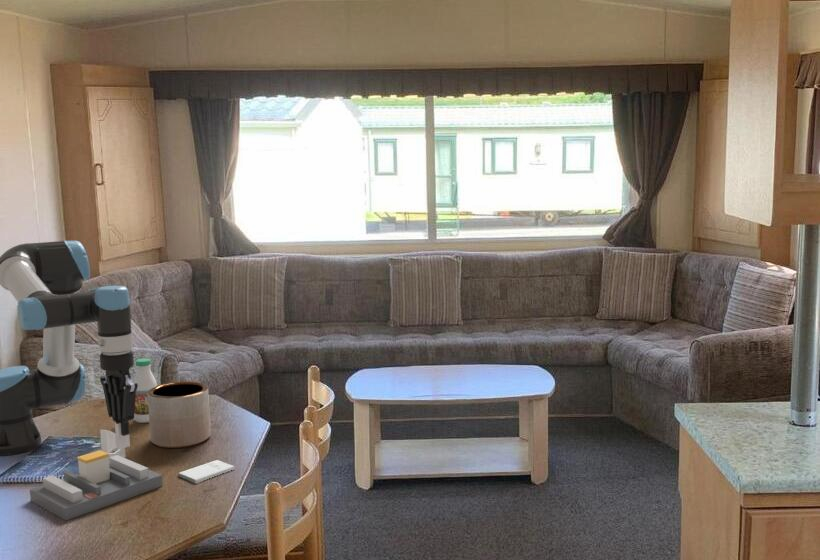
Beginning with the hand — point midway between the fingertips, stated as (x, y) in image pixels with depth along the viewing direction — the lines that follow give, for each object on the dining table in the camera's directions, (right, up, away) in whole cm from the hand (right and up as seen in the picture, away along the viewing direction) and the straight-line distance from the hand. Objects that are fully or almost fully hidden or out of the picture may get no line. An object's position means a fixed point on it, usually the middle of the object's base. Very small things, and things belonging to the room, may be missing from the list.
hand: (123, 447), depth 199 cm
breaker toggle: (-11, -11, +12) cm, 20 cm away
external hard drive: (+14, -13, +24) cm, 31 cm away
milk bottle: (-17, -5, +70) cm, 72 cm away
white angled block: (-15, -11, +34) cm, 39 cm away
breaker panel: (-11, -14, +12) cm, 21 cm away
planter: (0, -8, +51) cm, 52 cm away
